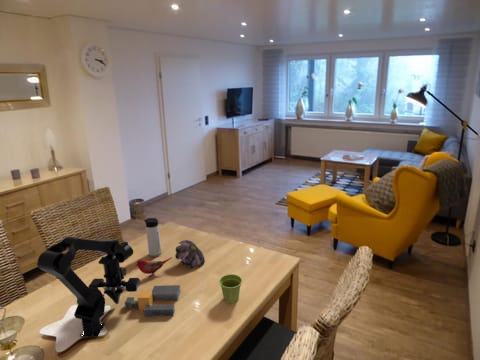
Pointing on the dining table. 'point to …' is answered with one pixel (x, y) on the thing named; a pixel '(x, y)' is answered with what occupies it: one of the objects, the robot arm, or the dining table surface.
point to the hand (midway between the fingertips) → (117, 303)
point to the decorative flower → (189, 254)
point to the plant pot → (230, 287)
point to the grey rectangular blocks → (163, 294)
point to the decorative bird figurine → (150, 266)
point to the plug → (140, 300)
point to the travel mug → (153, 237)
